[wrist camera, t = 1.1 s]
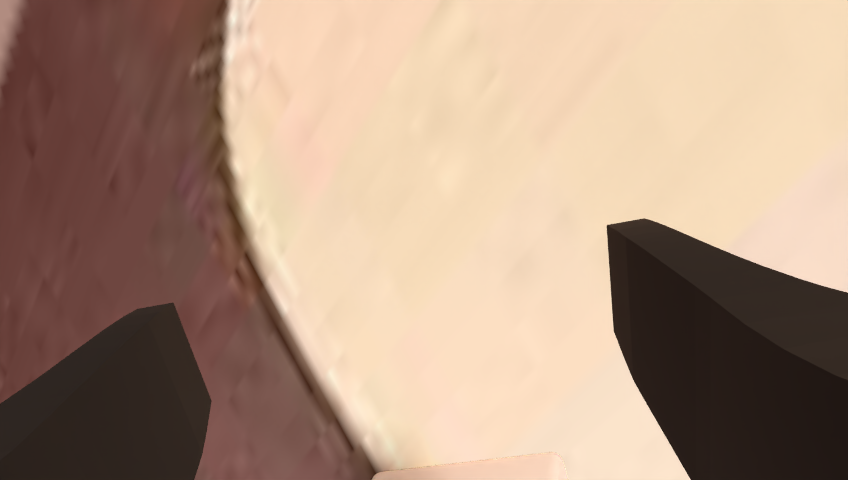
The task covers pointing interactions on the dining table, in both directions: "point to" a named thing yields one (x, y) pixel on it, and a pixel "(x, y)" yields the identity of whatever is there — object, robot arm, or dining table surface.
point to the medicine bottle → (487, 469)
